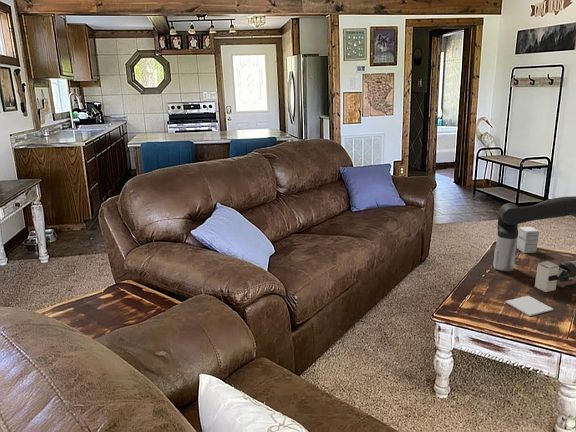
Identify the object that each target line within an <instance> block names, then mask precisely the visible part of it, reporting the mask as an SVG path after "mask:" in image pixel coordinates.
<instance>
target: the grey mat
mask: <svg viewBox="0 0 576 432" xmlns="http://www.w3.org/2000/svg"><path fill="white" fill-rule="evenodd" d="M504 303H506V304H507V305H510V306H511V307H513V308H515V309H516V310H517V311H519V312H521V313H523V314H524V315H526V316H528V317H531V316H536V315H539V314H543V313H548V312H553V311H554V308H553V307H551V306H549V305H547V304H545V303H543V302H542V301H539V300H537V299H535V298H534V297H532V296H530V295H525V296H521V297H517V298H516V297H515V298H513V299H508V300H505V301H504Z"/></svg>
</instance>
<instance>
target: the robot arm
mask: <svg viewBox="0 0 576 432" xmlns="http://www.w3.org/2000/svg"><path fill="white" fill-rule="evenodd" d="M573 215H576V196H575V195H574V196H572V195H571V196H559V197H554V198H548V199H546V200H545V199H544V201H541V202H538V203H536V204H533V205H527V206H517V204H515V203H511V202H507V203H504V204H503V205H501V207H500V208H499V210H498V215H497V233H496V234H497V236H496V243H495V247H494V253H493V254H494V255H493V264H492V266H493V267H494V270H498V271H501V272H512V271H514V269H515V260H516V253H517V243H518V236H519V227H518V226H519V224H523V223H528V222H531V221H539V220H547V219H555V218H563V217H569V216H573ZM558 265H559V271H558V274H557V275H553V276H549V278H548V281H554V280H557V282H558V281H559V282H561V283H563V282H564V283H566V282H572V281H573V279H575V278H576V260H571V261H566V262H562V263H558ZM536 273H537V271H536ZM536 273H535V274H536Z"/></svg>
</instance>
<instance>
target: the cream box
mask: <svg viewBox="0 0 576 432" xmlns="http://www.w3.org/2000/svg"><path fill="white" fill-rule="evenodd" d="M558 271H559V264H557V263H554V262H552V261H549V260H544V261H540V262H538V263H537V268H536V272H537V273H535V275H536V276H535V281H534V288H536V289H538V290H539V291H543V292H545V293H547V292H551V291H556V288H557V284H558V281H557V280H554V281H548V278H549V276H553V275H557V274H558Z"/></svg>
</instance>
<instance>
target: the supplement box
mask: <svg viewBox="0 0 576 432" xmlns="http://www.w3.org/2000/svg"><path fill="white" fill-rule="evenodd" d="M539 236H540V230H538V229H536V228H534V227H532V226H521V227H519V228H518V239H517V247H516V250H517V249H518V250H519V251H521V252H522V253H524V254H530V253H531V254H532V253H537V249H538V243H539V238H540V237H539Z"/></svg>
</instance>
